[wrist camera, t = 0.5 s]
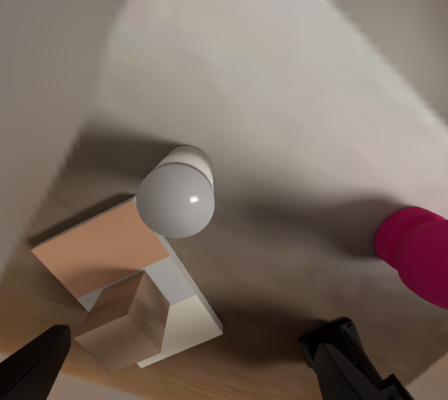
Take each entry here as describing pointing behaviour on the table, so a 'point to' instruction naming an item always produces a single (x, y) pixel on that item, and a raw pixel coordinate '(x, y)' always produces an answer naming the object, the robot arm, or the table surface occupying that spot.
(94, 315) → the block
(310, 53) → the table surface
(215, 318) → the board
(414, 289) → the pepper mill
